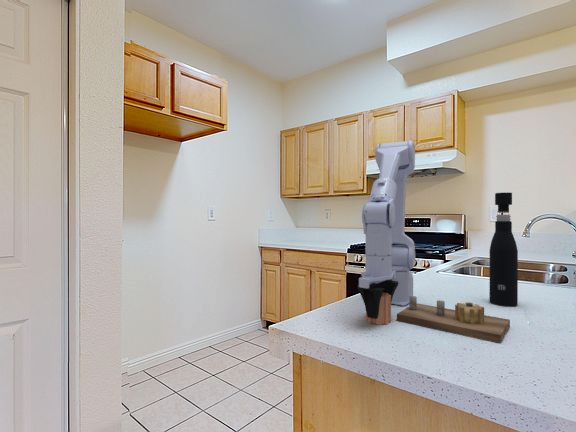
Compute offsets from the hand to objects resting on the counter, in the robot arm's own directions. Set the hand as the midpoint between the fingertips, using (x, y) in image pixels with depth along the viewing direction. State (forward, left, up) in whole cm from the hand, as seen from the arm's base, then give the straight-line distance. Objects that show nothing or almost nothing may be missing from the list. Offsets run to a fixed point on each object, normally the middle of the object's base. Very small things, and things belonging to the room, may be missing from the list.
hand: (378, 314), depth 74 cm
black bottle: (-36, +19, -2) cm, 41 cm away
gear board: (-9, +13, -1) cm, 16 cm away
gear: (0, 0, -1) cm, 1 cm away
